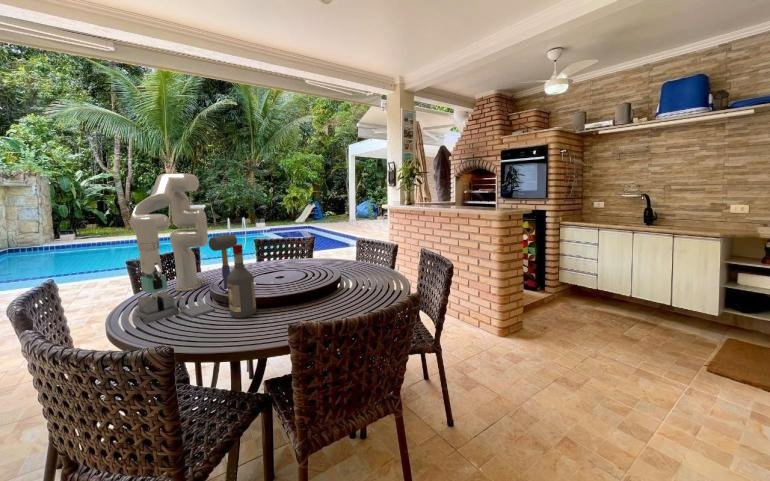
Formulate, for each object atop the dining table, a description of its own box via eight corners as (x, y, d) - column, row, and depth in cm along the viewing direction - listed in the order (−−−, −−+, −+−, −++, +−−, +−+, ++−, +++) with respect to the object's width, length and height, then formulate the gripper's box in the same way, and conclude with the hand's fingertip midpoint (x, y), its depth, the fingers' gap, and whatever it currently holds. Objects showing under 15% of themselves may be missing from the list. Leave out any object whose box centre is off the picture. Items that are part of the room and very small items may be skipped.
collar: (160, 286, 155) (158, 272, 154) (167, 288, 151) (165, 275, 150) (142, 290, 150) (140, 276, 149) (149, 293, 146) (147, 279, 145)
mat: (204, 306, 162) (204, 304, 162) (215, 310, 156) (215, 308, 156) (181, 312, 154) (181, 310, 154) (192, 317, 148) (191, 315, 148)
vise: (178, 304, 164) (174, 275, 162) (190, 310, 157) (186, 279, 154) (136, 316, 151) (132, 284, 149) (147, 322, 144) (143, 289, 141)
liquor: (249, 308, 158) (243, 242, 153) (258, 313, 151) (252, 245, 146) (228, 314, 151) (221, 245, 146) (237, 319, 145) (230, 248, 140)
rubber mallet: (223, 297, 174) (217, 237, 169) (212, 295, 177) (206, 236, 172) (242, 289, 185) (237, 233, 180) (232, 288, 188) (227, 232, 183)
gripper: (130, 245, 149) (136, 285, 153) (146, 250, 139) (153, 293, 142) (150, 242, 155) (156, 281, 159) (167, 247, 145) (173, 288, 148)
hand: (154, 286), depth 150 cm, fingers closed on collar, 7 cm apart
